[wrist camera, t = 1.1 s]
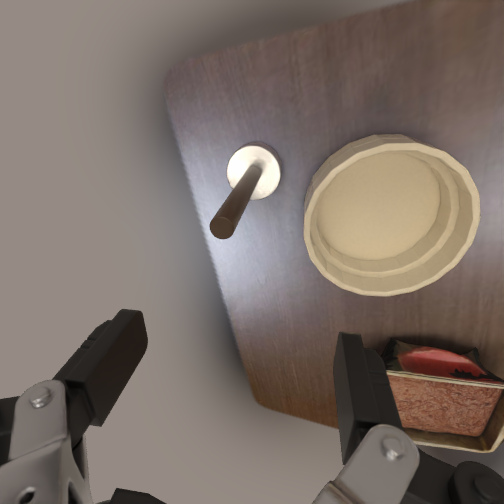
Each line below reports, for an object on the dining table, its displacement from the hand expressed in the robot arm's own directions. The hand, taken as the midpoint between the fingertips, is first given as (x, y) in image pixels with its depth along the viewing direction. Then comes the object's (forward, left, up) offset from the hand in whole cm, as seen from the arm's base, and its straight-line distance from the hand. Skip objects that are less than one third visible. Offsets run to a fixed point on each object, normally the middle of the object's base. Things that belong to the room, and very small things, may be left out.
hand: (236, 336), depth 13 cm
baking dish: (+34, 0, -25) cm, 42 cm away
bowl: (+9, +7, -25) cm, 27 cm away
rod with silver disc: (-2, -1, -25) cm, 25 cm away
